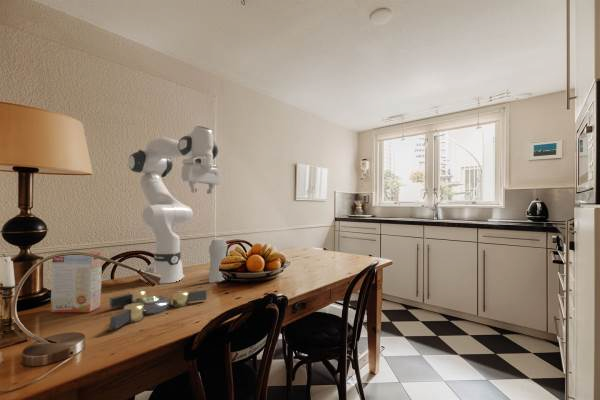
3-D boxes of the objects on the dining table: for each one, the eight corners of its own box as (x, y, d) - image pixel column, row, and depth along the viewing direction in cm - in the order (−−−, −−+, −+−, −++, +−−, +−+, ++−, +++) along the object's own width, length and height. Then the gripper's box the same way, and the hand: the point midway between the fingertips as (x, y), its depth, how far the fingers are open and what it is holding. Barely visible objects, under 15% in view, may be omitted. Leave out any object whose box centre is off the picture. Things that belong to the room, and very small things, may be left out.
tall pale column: (224, 278, 147) (225, 236, 147) (228, 279, 144) (229, 237, 145) (206, 282, 138) (207, 238, 139) (210, 283, 136) (211, 239, 136)
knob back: (141, 299, 111) (141, 288, 111) (148, 302, 108) (148, 291, 108) (107, 308, 101) (107, 296, 101) (114, 311, 98) (114, 299, 98)
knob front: (130, 315, 95) (131, 302, 95) (146, 316, 94) (147, 303, 95) (103, 331, 83) (104, 316, 83) (121, 332, 82) (122, 317, 82)
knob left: (172, 307, 102) (173, 295, 103) (172, 303, 107) (172, 291, 108) (206, 303, 108) (207, 291, 108) (204, 298, 113) (205, 288, 113)
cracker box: (101, 307, 103) (103, 251, 104) (89, 313, 97) (91, 253, 98) (64, 306, 103) (66, 250, 104) (49, 312, 97) (51, 253, 98)
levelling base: (123, 310, 100) (124, 297, 100) (158, 300, 111) (159, 288, 111) (142, 318, 93) (142, 304, 93) (177, 307, 104) (178, 294, 104)
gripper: (213, 166, 134) (212, 194, 134) (179, 159, 115) (178, 192, 115) (223, 165, 131) (223, 194, 131) (190, 158, 113) (189, 191, 112)
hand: (201, 193), depth 123 cm, fingers open, 8 cm apart
